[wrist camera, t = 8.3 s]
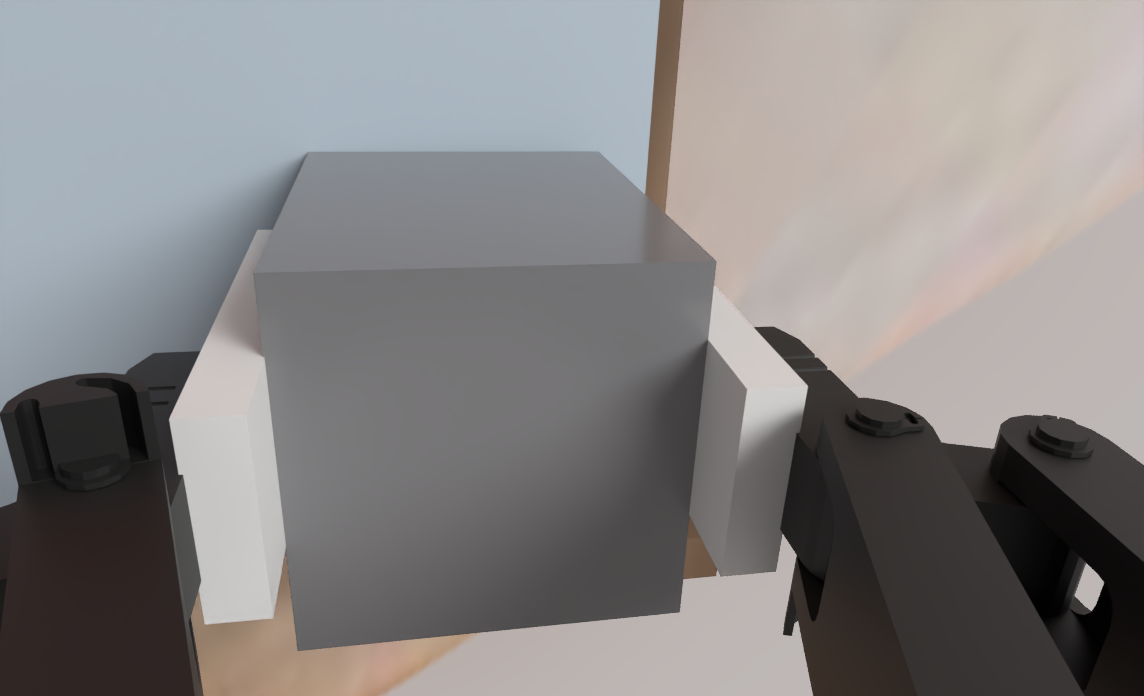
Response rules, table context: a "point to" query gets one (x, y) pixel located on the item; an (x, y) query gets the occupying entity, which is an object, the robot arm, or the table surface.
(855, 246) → the table surface
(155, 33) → the trapdoor
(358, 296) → the block
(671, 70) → the frame
